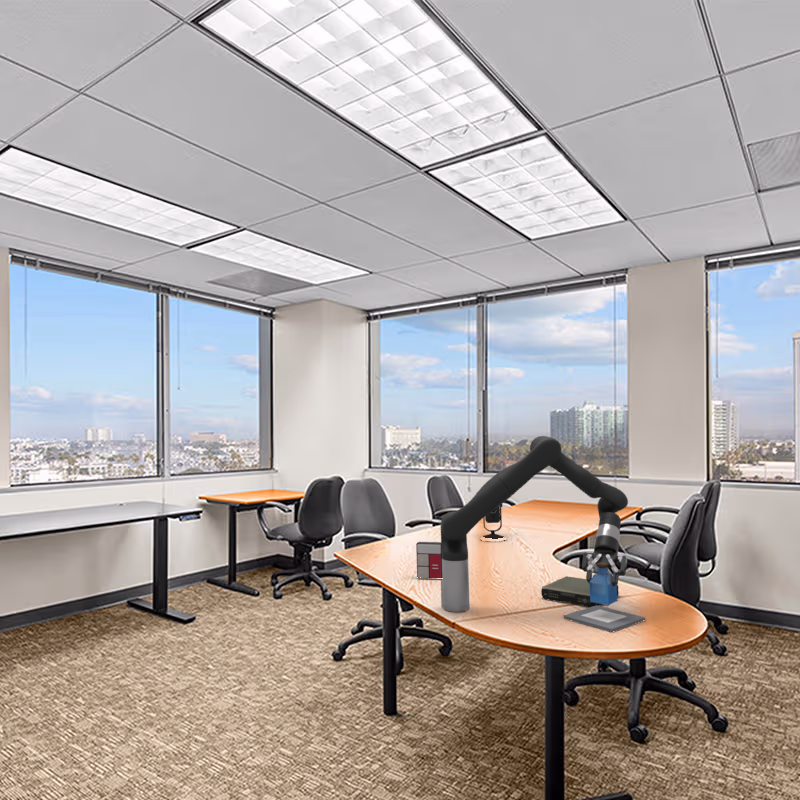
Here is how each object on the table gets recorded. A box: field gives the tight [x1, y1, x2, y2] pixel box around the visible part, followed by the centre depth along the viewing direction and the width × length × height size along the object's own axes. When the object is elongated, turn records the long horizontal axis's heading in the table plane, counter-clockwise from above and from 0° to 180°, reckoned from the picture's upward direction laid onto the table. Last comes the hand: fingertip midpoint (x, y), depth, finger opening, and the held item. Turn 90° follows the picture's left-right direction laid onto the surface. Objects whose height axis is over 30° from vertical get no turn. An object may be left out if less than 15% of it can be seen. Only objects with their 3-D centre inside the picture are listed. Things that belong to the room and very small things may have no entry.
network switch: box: [540, 576, 620, 608], centre depth 219 cm, size 23×23×5 cm
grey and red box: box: [415, 541, 443, 578], centre depth 253 cm, size 11×4×15 cm, turn 76°
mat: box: [562, 605, 646, 633], centre depth 192 cm, size 18×18×1 cm
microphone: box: [482, 503, 505, 539], centre depth 343 cm, size 16×16×30 cm
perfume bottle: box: [589, 563, 618, 606], centre depth 193 cm, size 6×6×12 cm
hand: (601, 583), depth 192 cm, fingers closed on perfume bottle, 7 cm apart
